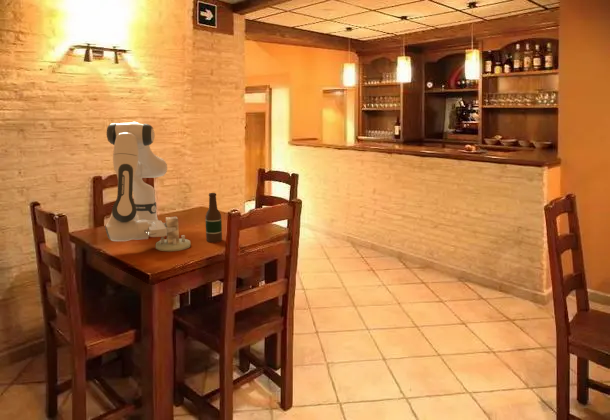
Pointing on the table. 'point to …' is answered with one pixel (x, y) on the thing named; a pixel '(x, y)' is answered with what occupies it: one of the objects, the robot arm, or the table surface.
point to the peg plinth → (172, 248)
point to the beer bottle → (213, 221)
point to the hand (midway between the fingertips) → (174, 226)
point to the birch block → (174, 234)
